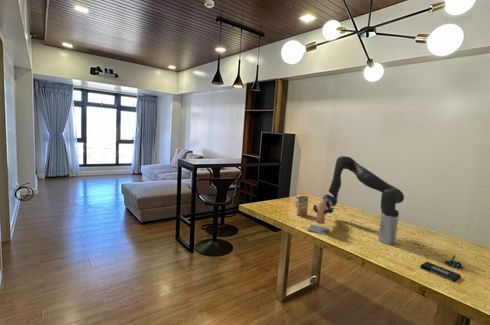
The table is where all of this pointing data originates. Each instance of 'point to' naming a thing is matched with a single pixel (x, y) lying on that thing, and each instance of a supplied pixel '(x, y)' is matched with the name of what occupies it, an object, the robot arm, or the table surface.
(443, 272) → the vhs tape
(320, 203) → the terracotta canister
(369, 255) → the table surface
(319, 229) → the rubber mat
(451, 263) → the dark blue compact piece
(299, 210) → the candy box
